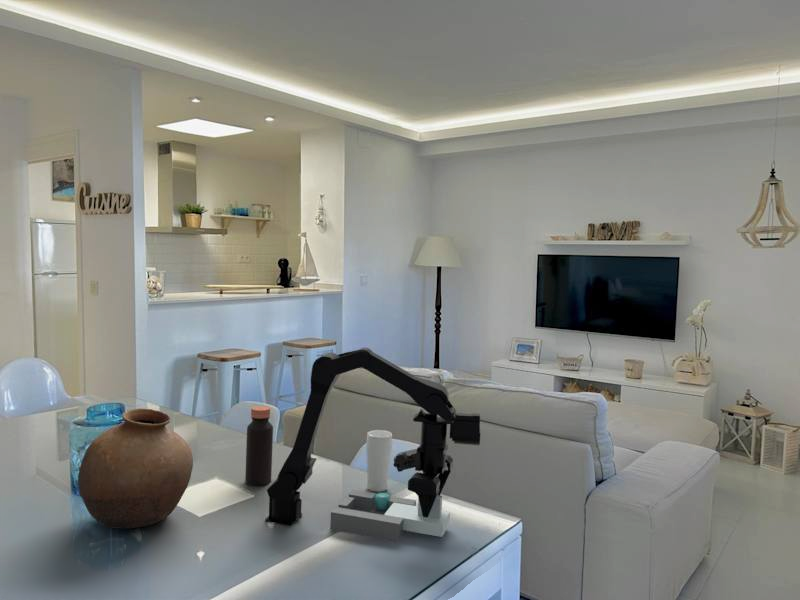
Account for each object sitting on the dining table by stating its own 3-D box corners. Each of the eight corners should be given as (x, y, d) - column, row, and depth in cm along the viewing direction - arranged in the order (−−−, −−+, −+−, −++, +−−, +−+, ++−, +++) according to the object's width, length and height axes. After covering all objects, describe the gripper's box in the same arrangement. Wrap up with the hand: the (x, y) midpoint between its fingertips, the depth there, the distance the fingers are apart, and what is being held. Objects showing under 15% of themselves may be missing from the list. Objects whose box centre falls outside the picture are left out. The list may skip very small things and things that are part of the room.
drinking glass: (386, 495, 153) (389, 438, 153) (361, 491, 155) (364, 435, 154) (392, 485, 160) (394, 431, 159) (368, 482, 161) (370, 428, 160)
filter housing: (330, 529, 132) (330, 512, 132) (352, 505, 146) (353, 490, 145) (398, 542, 128) (399, 524, 127) (415, 516, 141) (416, 500, 141)
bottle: (256, 488, 154) (259, 412, 152) (239, 481, 158) (242, 407, 157) (276, 481, 159) (279, 408, 158) (260, 475, 163) (262, 403, 162)
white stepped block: (383, 526, 132) (384, 495, 132) (393, 513, 139) (394, 483, 139) (442, 537, 128) (444, 504, 128) (449, 523, 135) (450, 492, 135)
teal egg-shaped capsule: (373, 508, 141) (373, 497, 141) (377, 503, 144) (378, 492, 144) (386, 510, 140) (387, 499, 140) (391, 505, 143) (391, 494, 143)
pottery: (82, 508, 137) (84, 402, 136) (188, 497, 146) (190, 397, 145) (71, 554, 116) (73, 429, 115) (195, 537, 125) (198, 421, 124)
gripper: (409, 426, 143) (406, 489, 144) (386, 448, 125) (382, 520, 126) (455, 432, 140) (451, 496, 141) (437, 455, 122) (433, 529, 123)
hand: (429, 509), depth 133 cm, fingers open, 8 cm apart
